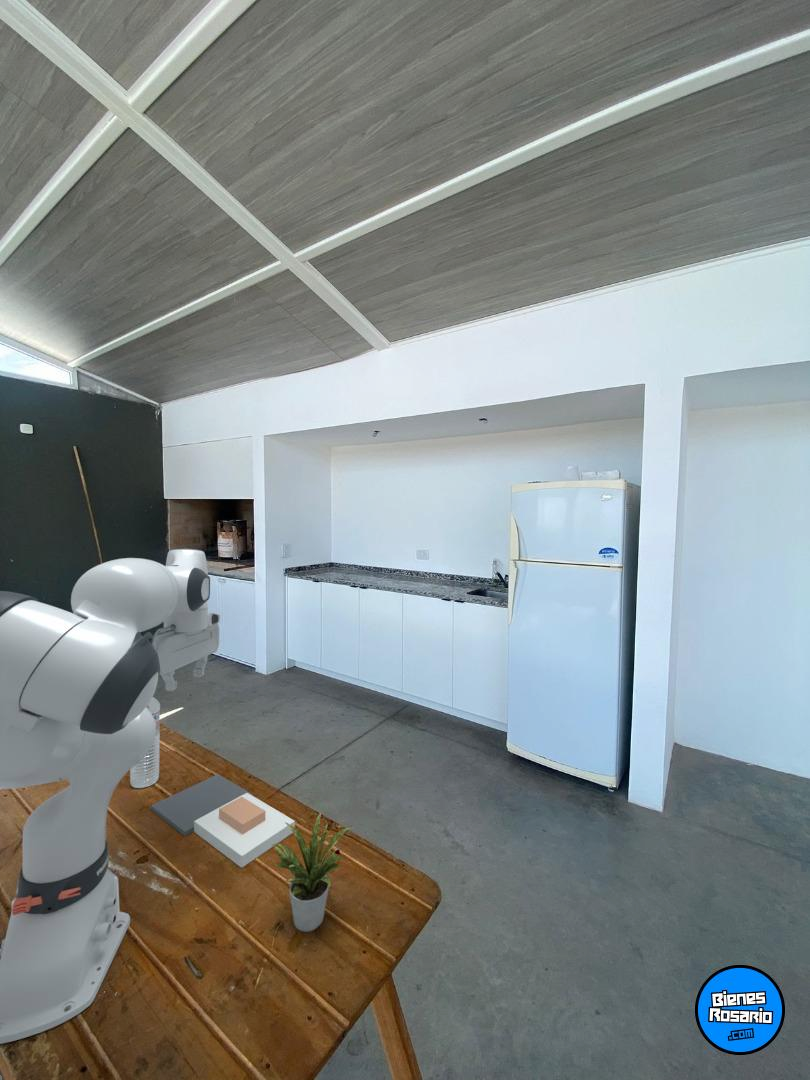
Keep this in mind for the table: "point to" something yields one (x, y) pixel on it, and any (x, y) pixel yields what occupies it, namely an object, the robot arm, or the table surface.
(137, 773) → the water bottle
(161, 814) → the rubber mat
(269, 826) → the white slab
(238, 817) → the terracotta tile
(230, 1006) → the table surface
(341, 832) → the house plant
